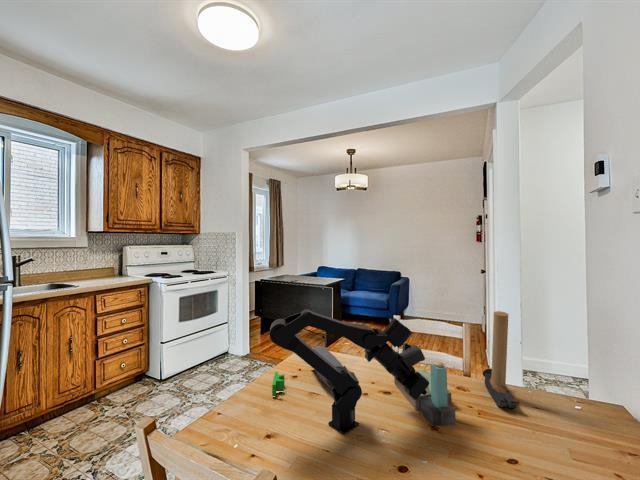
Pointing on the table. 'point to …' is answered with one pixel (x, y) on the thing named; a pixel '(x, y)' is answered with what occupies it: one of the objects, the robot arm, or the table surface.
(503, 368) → the hammer
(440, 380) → the teal rectangular block
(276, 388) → the pipe clamp
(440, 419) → the toolbox
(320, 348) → the bluetooth speaker
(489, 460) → the table surface
